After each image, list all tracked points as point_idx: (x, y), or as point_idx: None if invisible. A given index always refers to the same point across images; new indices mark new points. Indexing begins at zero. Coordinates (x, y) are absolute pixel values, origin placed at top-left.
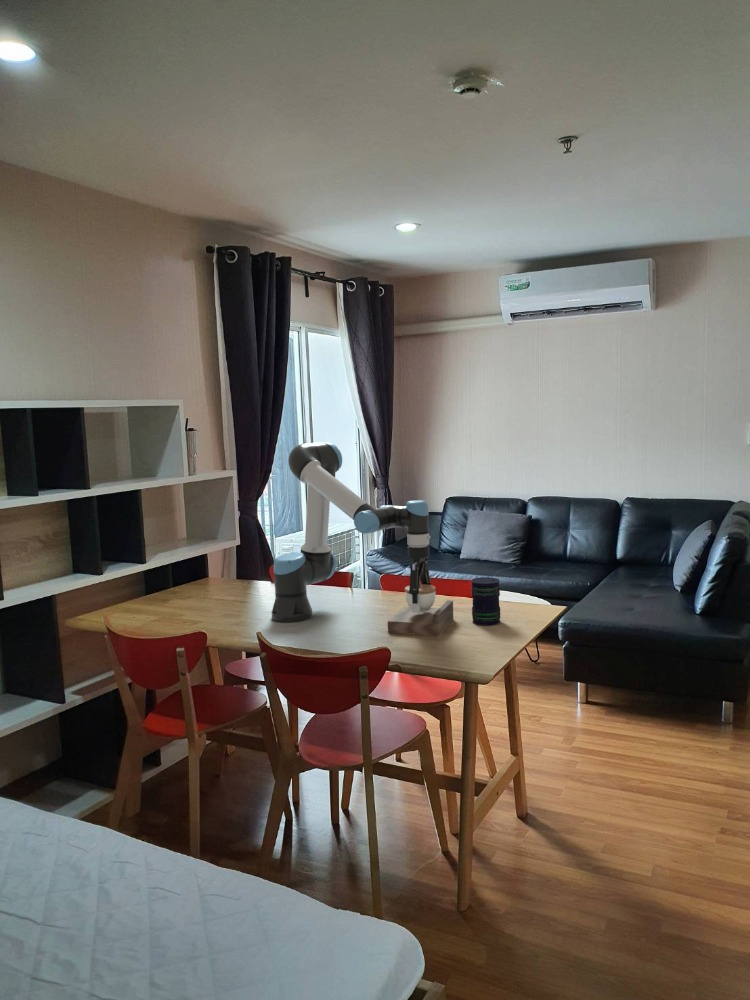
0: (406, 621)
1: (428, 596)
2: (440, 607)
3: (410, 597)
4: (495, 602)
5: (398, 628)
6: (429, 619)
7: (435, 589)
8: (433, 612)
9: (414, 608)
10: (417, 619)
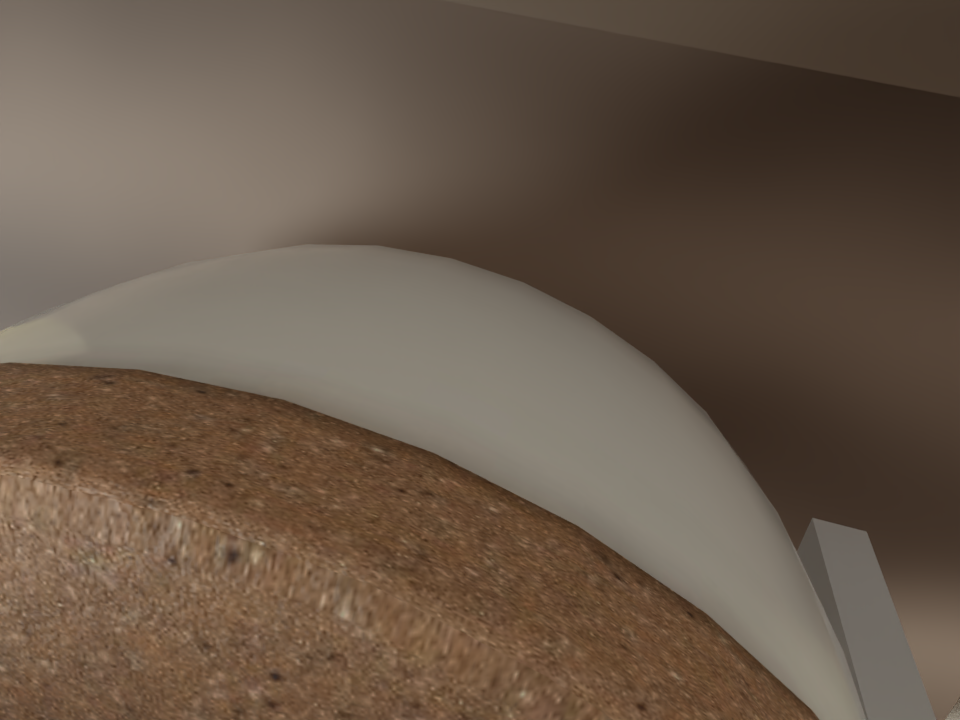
0: (932, 655)
1: (794, 612)
2: (543, 9)
3: None
4: None
5: None
6: (873, 258)
7: (120, 404)
8: (285, 197)
9: None
10: (821, 486)
